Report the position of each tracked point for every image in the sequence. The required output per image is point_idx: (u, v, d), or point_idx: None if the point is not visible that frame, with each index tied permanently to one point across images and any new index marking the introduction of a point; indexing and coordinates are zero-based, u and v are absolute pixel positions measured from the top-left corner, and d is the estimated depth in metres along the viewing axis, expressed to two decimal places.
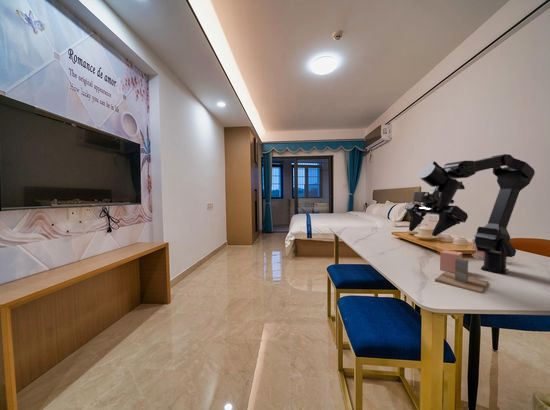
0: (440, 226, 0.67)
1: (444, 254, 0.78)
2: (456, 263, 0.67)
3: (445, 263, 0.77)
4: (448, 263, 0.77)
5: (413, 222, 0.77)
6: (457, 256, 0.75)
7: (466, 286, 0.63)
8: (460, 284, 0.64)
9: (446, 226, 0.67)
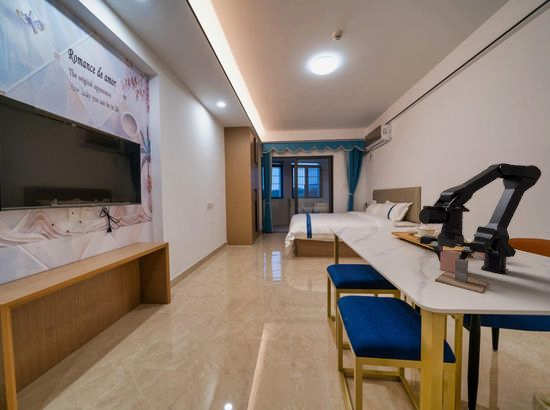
0: None
1: (444, 254, 0.78)
2: (456, 263, 0.67)
3: (445, 263, 0.77)
4: (448, 263, 0.77)
5: None
6: (457, 256, 0.75)
7: (466, 286, 0.63)
8: (460, 284, 0.64)
9: (466, 256, 0.76)
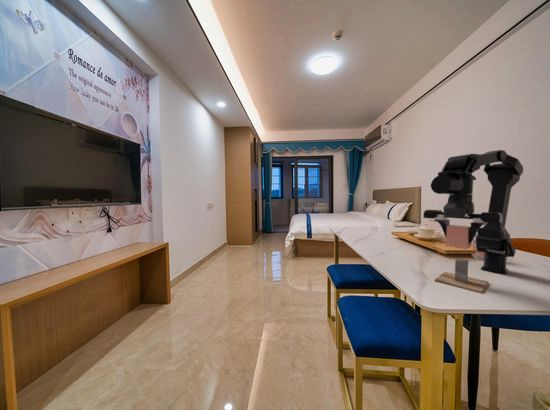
0: (474, 233, 0.66)
1: (451, 228, 0.69)
2: (456, 263, 0.67)
3: (452, 238, 0.69)
4: (455, 237, 0.68)
5: None
6: (466, 229, 0.66)
7: (466, 286, 0.63)
8: (460, 284, 0.64)
9: (477, 230, 0.67)
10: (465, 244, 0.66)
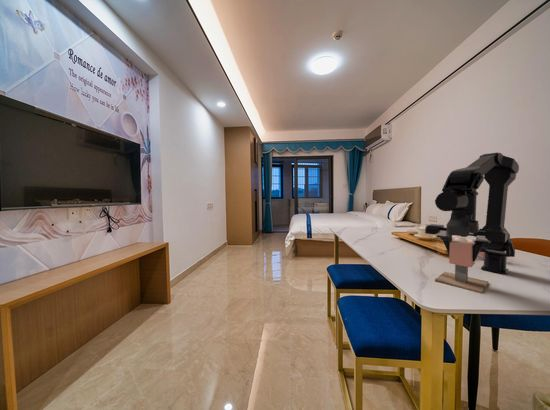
0: (478, 251, 0.64)
1: (454, 245, 0.67)
2: None
3: (455, 255, 0.67)
4: (459, 255, 0.66)
5: None
6: (470, 247, 0.64)
7: (466, 286, 0.63)
8: (460, 284, 0.64)
9: (481, 247, 0.65)
10: (469, 262, 0.64)
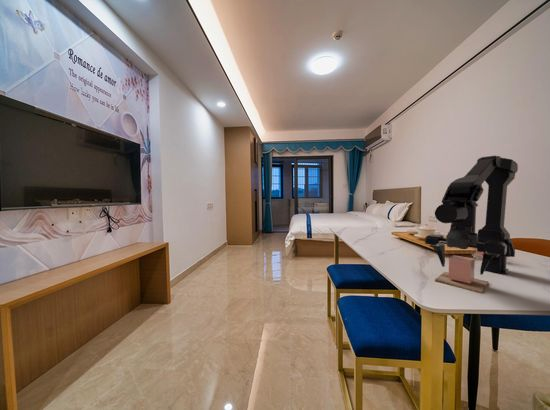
0: (487, 264, 0.62)
1: (453, 260, 0.67)
2: None
3: (454, 271, 0.67)
4: (458, 271, 0.66)
5: (443, 257, 0.71)
6: (469, 263, 0.64)
7: (466, 286, 0.63)
8: (460, 284, 0.64)
9: None
10: (468, 278, 0.64)
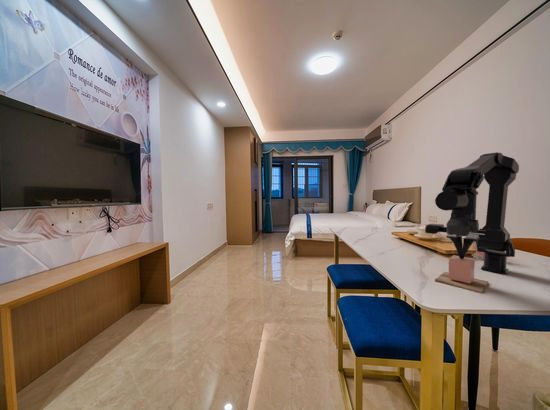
0: (467, 249, 0.66)
1: (453, 260, 0.67)
2: None
3: (454, 271, 0.67)
4: (458, 271, 0.66)
5: (460, 248, 0.67)
6: (469, 263, 0.64)
7: (466, 286, 0.63)
8: (460, 284, 0.64)
9: (469, 245, 0.67)
10: (468, 278, 0.64)
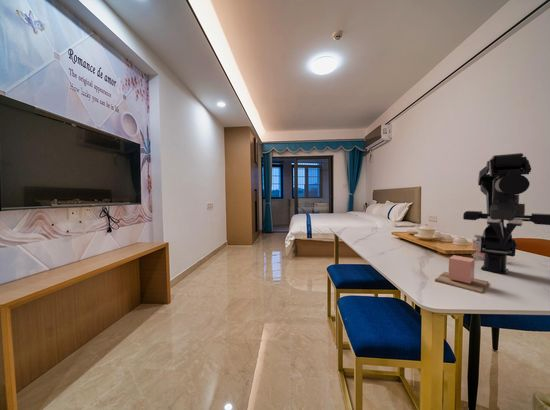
0: (509, 234, 0.65)
1: (453, 260, 0.67)
2: None
3: (454, 271, 0.67)
4: (458, 271, 0.66)
5: (502, 234, 0.67)
6: (469, 263, 0.64)
7: (466, 286, 0.63)
8: (460, 284, 0.64)
9: (511, 231, 0.66)
10: (468, 278, 0.64)
